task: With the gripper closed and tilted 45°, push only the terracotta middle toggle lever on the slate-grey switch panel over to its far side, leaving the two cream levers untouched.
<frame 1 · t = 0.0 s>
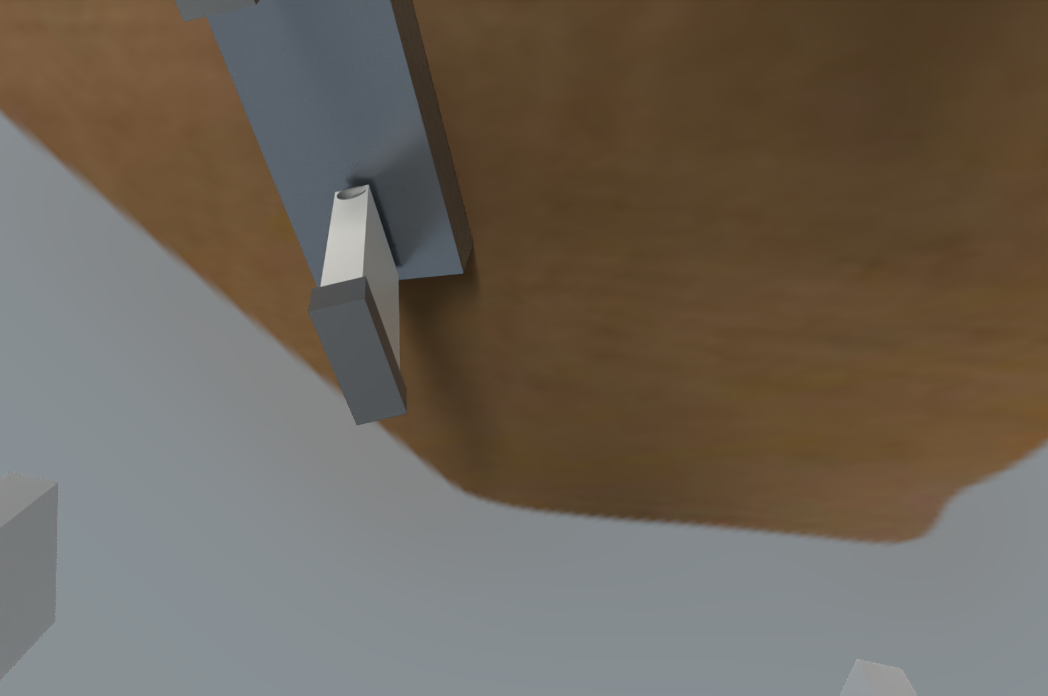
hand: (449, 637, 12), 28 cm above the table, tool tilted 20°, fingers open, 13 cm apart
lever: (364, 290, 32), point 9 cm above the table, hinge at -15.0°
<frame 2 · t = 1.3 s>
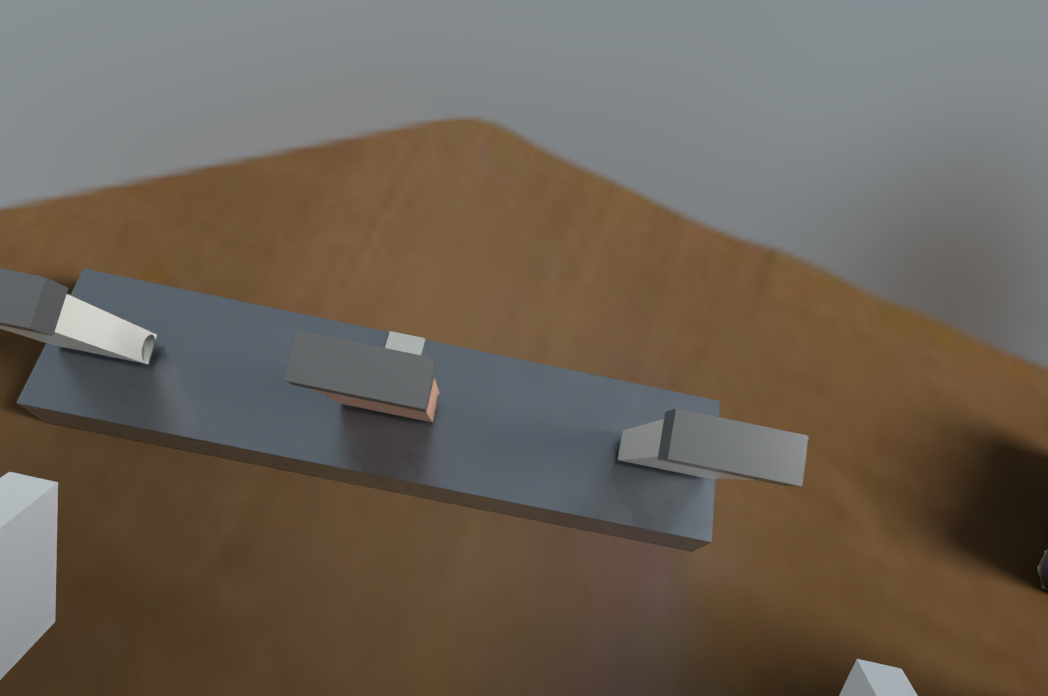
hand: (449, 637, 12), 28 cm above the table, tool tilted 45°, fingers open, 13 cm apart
lever middle: (377, 386, 34), point 9 cm above the table, hinge at -15.0°
switch panel: (392, 420, 42), on the table
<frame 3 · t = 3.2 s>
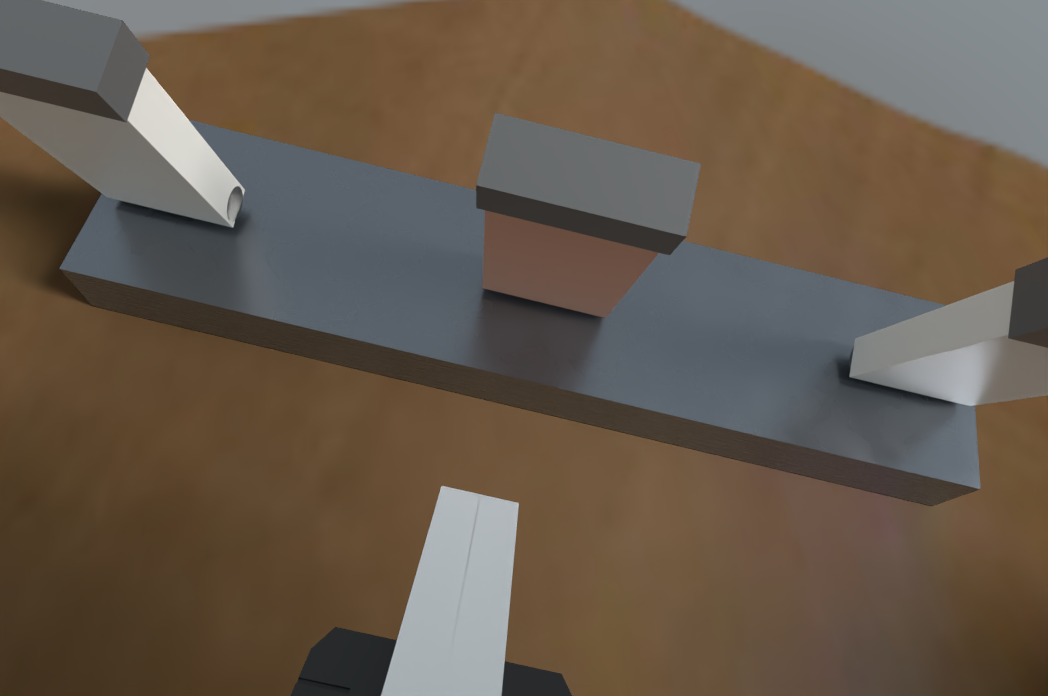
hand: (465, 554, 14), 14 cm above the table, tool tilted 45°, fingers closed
lever middle: (564, 242, 24), point 9 cm above the table, hinge at -15.0°
switch panel: (536, 324, 32), on the table
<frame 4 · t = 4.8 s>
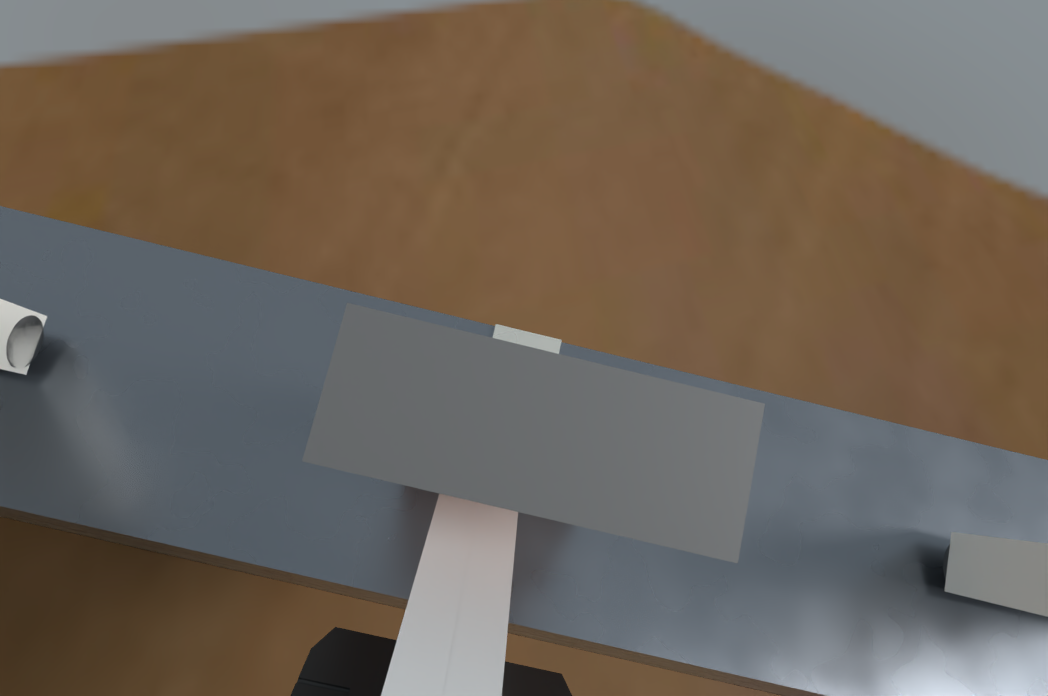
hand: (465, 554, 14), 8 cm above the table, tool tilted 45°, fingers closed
lever middle: (513, 448, 14), point 9 cm above the table, hinge at -14.8°, touching gripper
switch panel: (489, 487, 23), on the table
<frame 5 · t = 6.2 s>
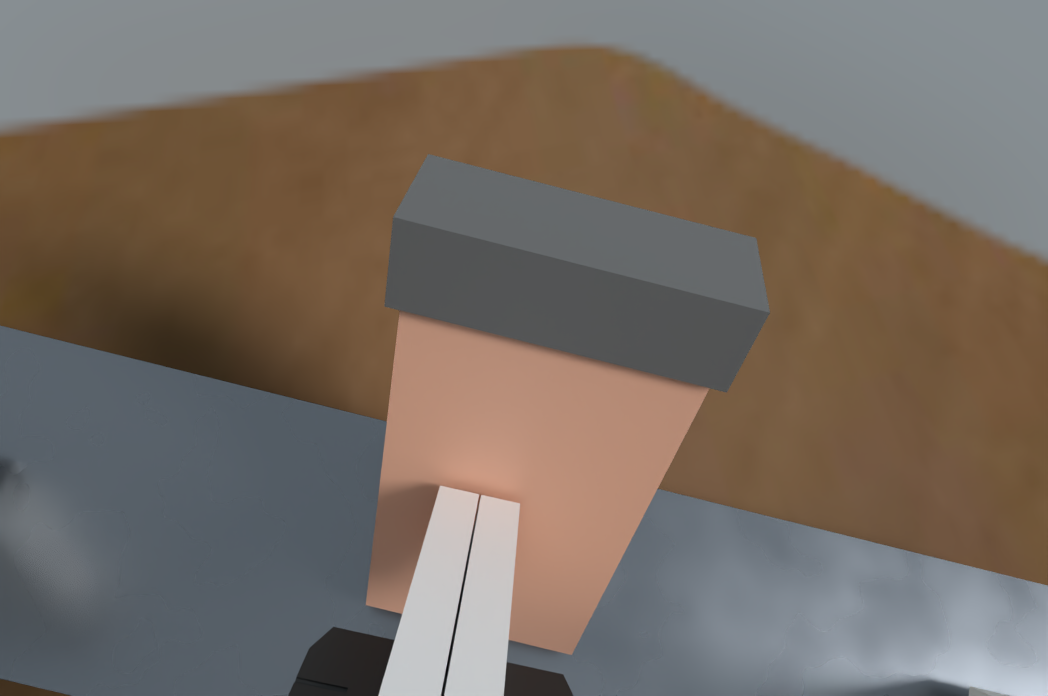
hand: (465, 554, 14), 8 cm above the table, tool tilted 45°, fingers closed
lever middle: (517, 462, 15), point 8 cm above the table, hinge at 25.0°, touching gripper
switch panel: (468, 610, 21), on the table
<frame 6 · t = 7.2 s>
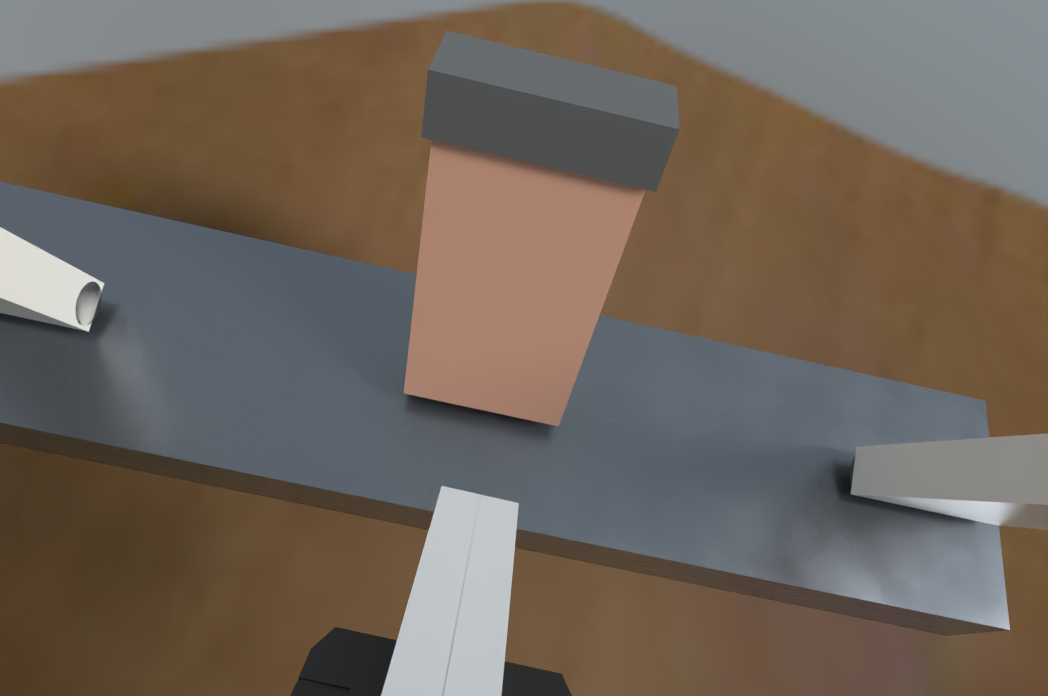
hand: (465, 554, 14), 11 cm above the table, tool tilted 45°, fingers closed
lever middle: (514, 267, 20), point 9 cm above the table, hinge at 18.9°
switch panel: (476, 426, 27), on the table
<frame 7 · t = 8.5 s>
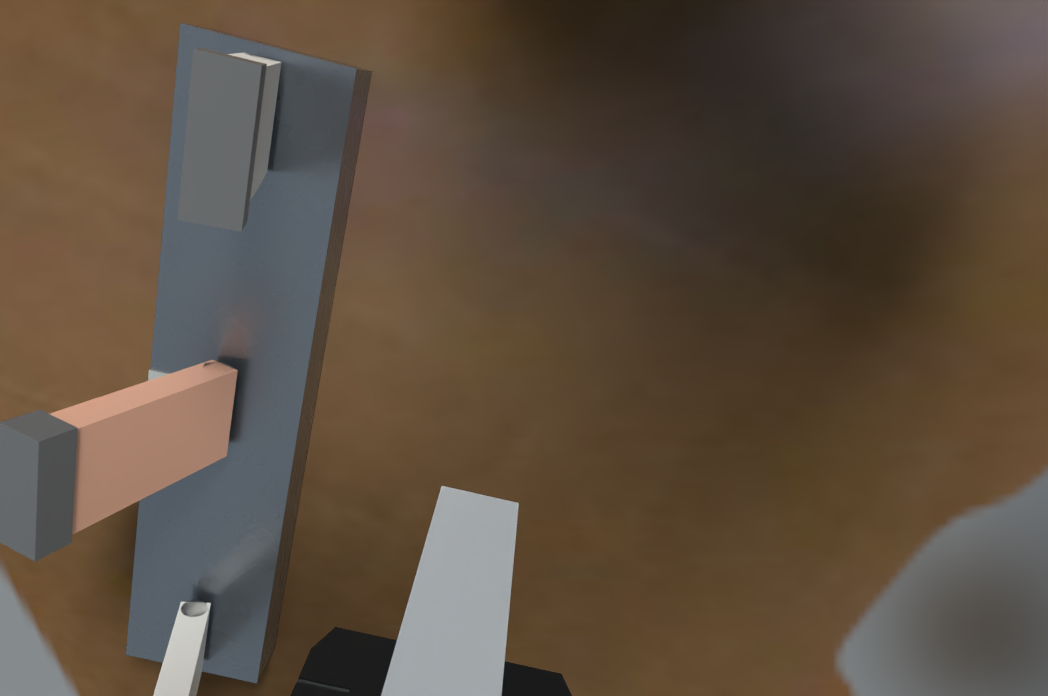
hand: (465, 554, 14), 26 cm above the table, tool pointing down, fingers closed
lever middle: (135, 444, 33), point 9 cm above the table, hinge at 18.9°
switch panel: (246, 383, 42), on the table
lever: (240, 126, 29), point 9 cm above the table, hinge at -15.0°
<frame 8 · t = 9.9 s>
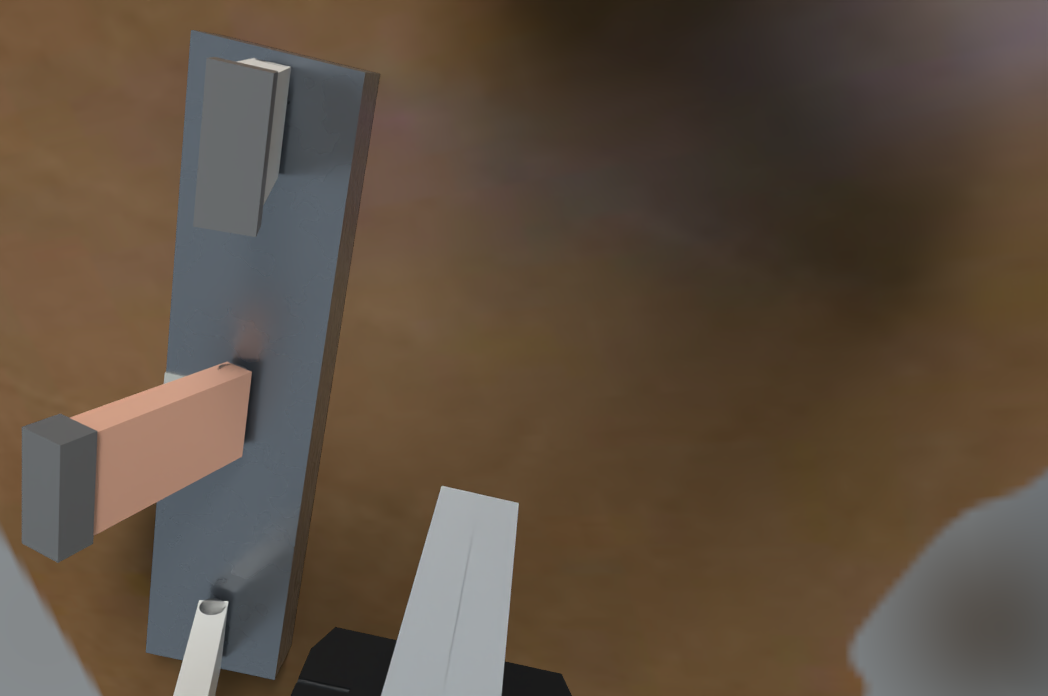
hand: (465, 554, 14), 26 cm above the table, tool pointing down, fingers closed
lever middle: (153, 446, 34), point 9 cm above the table, hinge at 18.9°
switch panel: (260, 384, 42), on the table
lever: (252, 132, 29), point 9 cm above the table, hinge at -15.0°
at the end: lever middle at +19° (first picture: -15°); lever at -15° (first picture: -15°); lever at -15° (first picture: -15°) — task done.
